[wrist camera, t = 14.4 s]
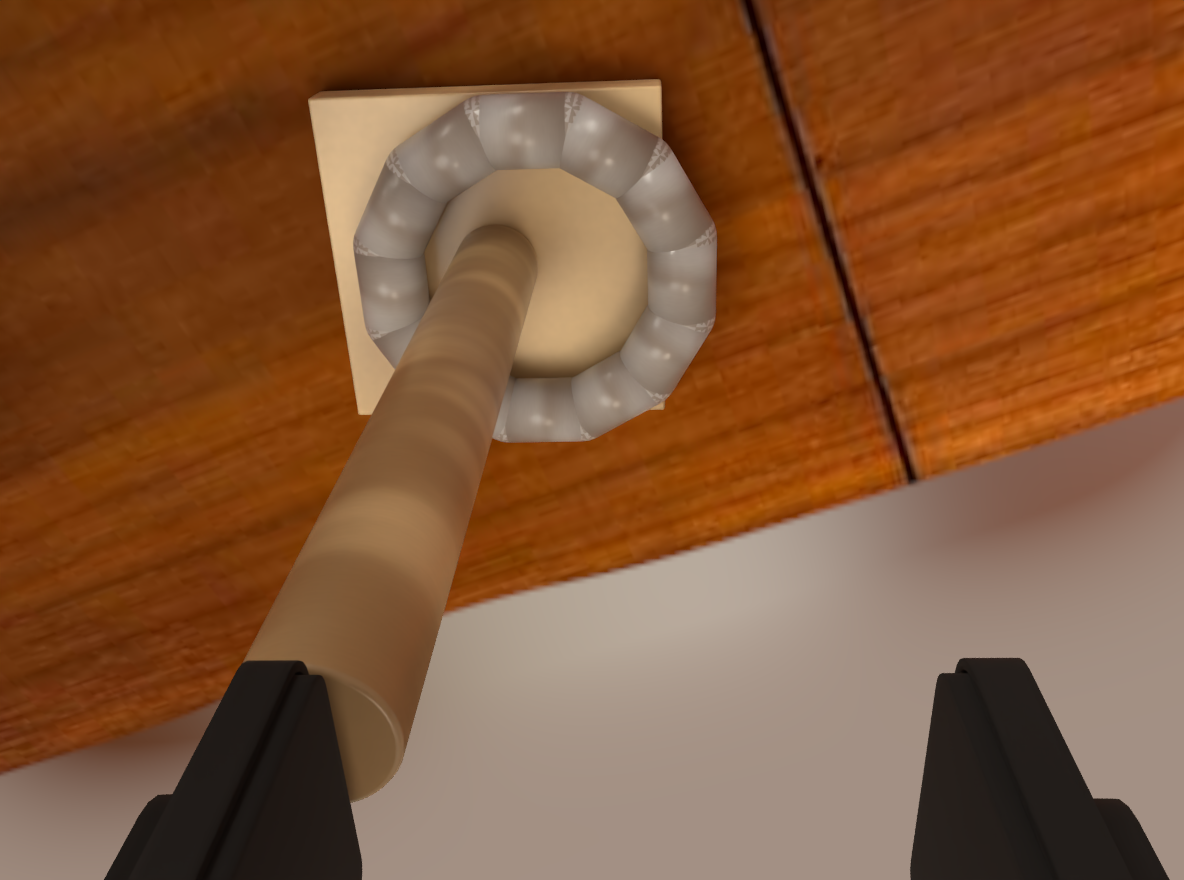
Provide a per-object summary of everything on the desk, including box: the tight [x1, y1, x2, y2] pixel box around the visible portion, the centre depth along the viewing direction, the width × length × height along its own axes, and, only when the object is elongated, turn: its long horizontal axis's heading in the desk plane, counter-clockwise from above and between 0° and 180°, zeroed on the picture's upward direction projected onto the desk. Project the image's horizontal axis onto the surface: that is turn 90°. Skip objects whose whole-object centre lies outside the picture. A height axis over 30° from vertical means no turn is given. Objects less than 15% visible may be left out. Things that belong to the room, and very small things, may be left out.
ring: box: [353, 92, 717, 442], centre depth 25 cm, size 8×8×2 cm
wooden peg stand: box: [243, 79, 665, 803], centre depth 19 cm, size 8×8×17 cm
